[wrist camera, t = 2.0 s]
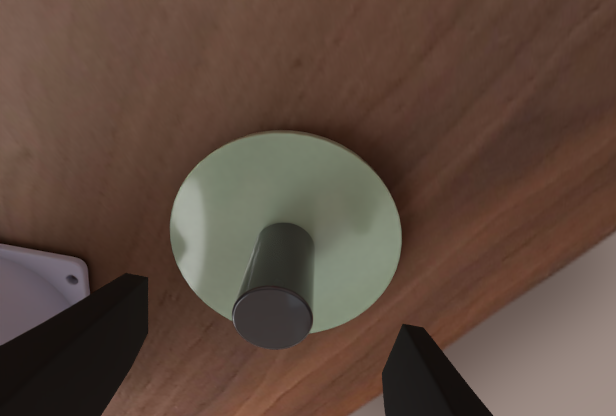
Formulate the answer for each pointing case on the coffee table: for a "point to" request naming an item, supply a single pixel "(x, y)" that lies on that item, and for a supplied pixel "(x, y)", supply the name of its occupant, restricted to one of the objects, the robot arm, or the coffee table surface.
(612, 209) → the coffee table surface
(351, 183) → the cover
